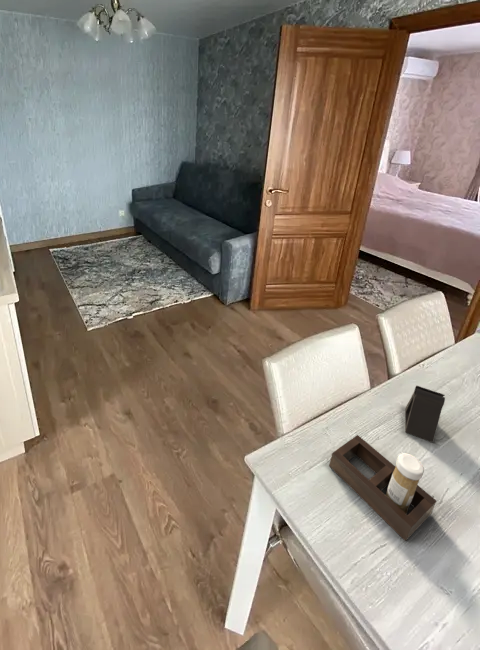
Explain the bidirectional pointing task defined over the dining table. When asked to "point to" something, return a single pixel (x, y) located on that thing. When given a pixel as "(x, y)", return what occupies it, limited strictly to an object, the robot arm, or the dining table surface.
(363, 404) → the dining table surface
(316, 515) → the dining table surface
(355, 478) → the holder
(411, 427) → the phone stand
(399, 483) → the sprinkles bottle
